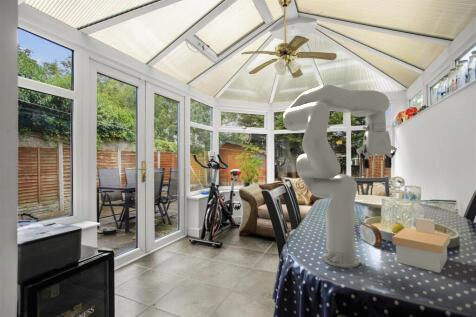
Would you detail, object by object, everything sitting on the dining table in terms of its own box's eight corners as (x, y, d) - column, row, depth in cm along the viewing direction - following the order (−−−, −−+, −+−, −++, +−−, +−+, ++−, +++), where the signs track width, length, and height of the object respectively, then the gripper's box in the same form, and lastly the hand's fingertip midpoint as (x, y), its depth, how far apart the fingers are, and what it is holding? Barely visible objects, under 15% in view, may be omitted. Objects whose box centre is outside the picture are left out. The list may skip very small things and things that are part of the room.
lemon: (404, 239, 111) (403, 222, 111) (408, 243, 105) (407, 225, 106) (390, 238, 112) (390, 221, 113) (393, 242, 107) (393, 224, 107)
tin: (383, 249, 98) (382, 228, 99) (375, 249, 98) (375, 228, 99) (364, 238, 113) (364, 220, 114) (357, 238, 114) (357, 220, 114)
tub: (439, 272, 77) (439, 247, 77) (396, 261, 86) (395, 239, 86) (447, 259, 87) (446, 237, 88) (407, 250, 96) (407, 231, 97)
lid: (442, 253, 76) (441, 230, 76) (392, 243, 86) (391, 222, 86) (450, 241, 88) (449, 221, 88) (405, 233, 98) (405, 215, 98)
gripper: (361, 128, 99) (362, 169, 99) (401, 126, 99) (403, 167, 99) (351, 130, 106) (353, 168, 106) (389, 129, 107) (390, 167, 107)
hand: (377, 168), depth 103 cm, fingers open, 9 cm apart
